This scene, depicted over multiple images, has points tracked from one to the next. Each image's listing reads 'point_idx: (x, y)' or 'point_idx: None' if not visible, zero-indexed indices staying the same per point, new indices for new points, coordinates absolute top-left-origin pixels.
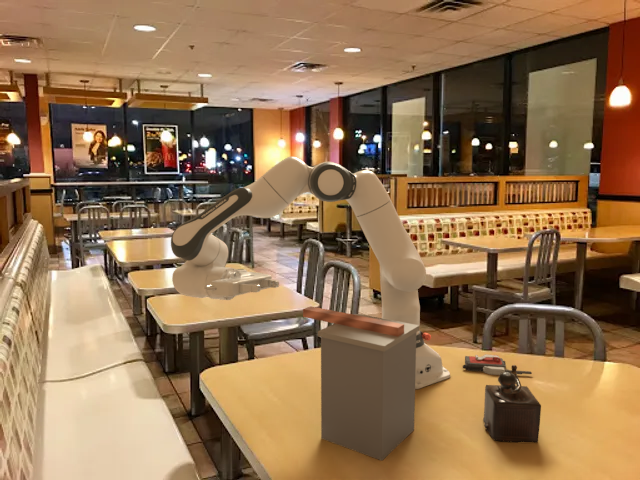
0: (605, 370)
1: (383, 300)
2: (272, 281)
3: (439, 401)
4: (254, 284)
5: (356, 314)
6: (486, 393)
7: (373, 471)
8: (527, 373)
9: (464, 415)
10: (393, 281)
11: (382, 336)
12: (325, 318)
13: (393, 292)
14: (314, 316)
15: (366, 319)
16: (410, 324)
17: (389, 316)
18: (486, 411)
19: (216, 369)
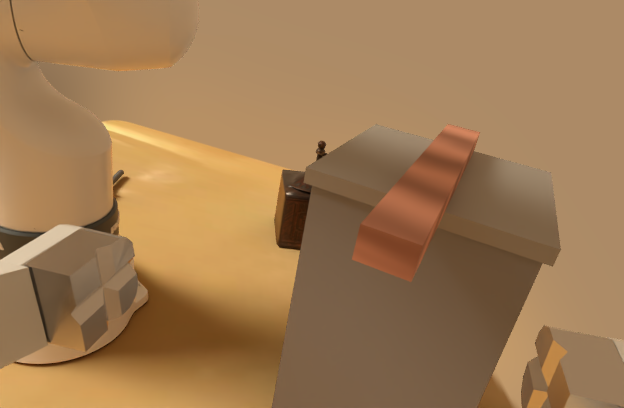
0: (121, 133)
1: (22, 128)
2: (91, 264)
3: (210, 277)
4: (570, 393)
5: (317, 169)
6: (295, 204)
7: (499, 395)
8: (122, 174)
9: (264, 260)
10: (171, 39)
11: (490, 165)
12: (440, 217)
13: (27, 90)
14: (429, 240)
15: (450, 149)
16: (374, 129)
17: (83, 168)
18: (298, 228)
19: None
